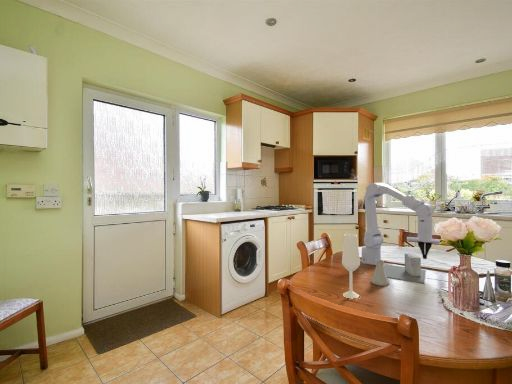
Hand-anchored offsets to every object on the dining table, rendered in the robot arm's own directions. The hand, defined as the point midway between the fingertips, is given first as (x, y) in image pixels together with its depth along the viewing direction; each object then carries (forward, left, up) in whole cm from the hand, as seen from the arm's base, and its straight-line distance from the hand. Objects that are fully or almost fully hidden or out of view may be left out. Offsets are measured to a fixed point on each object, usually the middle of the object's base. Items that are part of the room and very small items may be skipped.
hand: (424, 258), depth 121 cm
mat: (-9, -1, -8) cm, 12 cm away
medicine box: (-5, 0, -8) cm, 10 cm away
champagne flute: (-23, -40, -9) cm, 47 cm away
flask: (-16, -20, -9) cm, 27 cm away
